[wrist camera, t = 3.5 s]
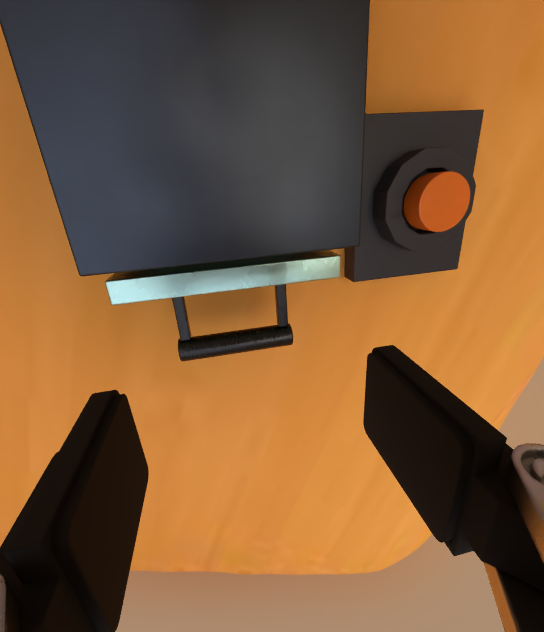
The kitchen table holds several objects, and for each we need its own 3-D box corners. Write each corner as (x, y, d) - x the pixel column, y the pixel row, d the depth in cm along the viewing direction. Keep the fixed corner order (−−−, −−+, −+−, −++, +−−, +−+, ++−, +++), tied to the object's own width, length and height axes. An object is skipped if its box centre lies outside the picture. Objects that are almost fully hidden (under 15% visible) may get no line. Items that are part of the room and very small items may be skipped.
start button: (446, 226, 22) (465, 229, 20) (400, 231, 21) (416, 234, 20) (454, 171, 21) (475, 169, 19) (405, 174, 20) (422, 173, 18)
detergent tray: (303, 314, 25) (339, 358, 18) (156, 334, 23) (135, 392, 16) (294, 17, 18) (347, -88, 11) (81, 14, 16) (-9, -111, 9)
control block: (443, 264, 27) (475, 274, 23) (344, 276, 25) (364, 288, 22) (465, 115, 22) (508, 102, 19) (348, 119, 21) (373, 107, 18)
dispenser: (305, 227, 23) (360, 246, 15) (128, 243, 21) (79, 277, 13) (298, -38, 18) (380, -243, 9) (58, -48, 16) (-110, -318, 7)
